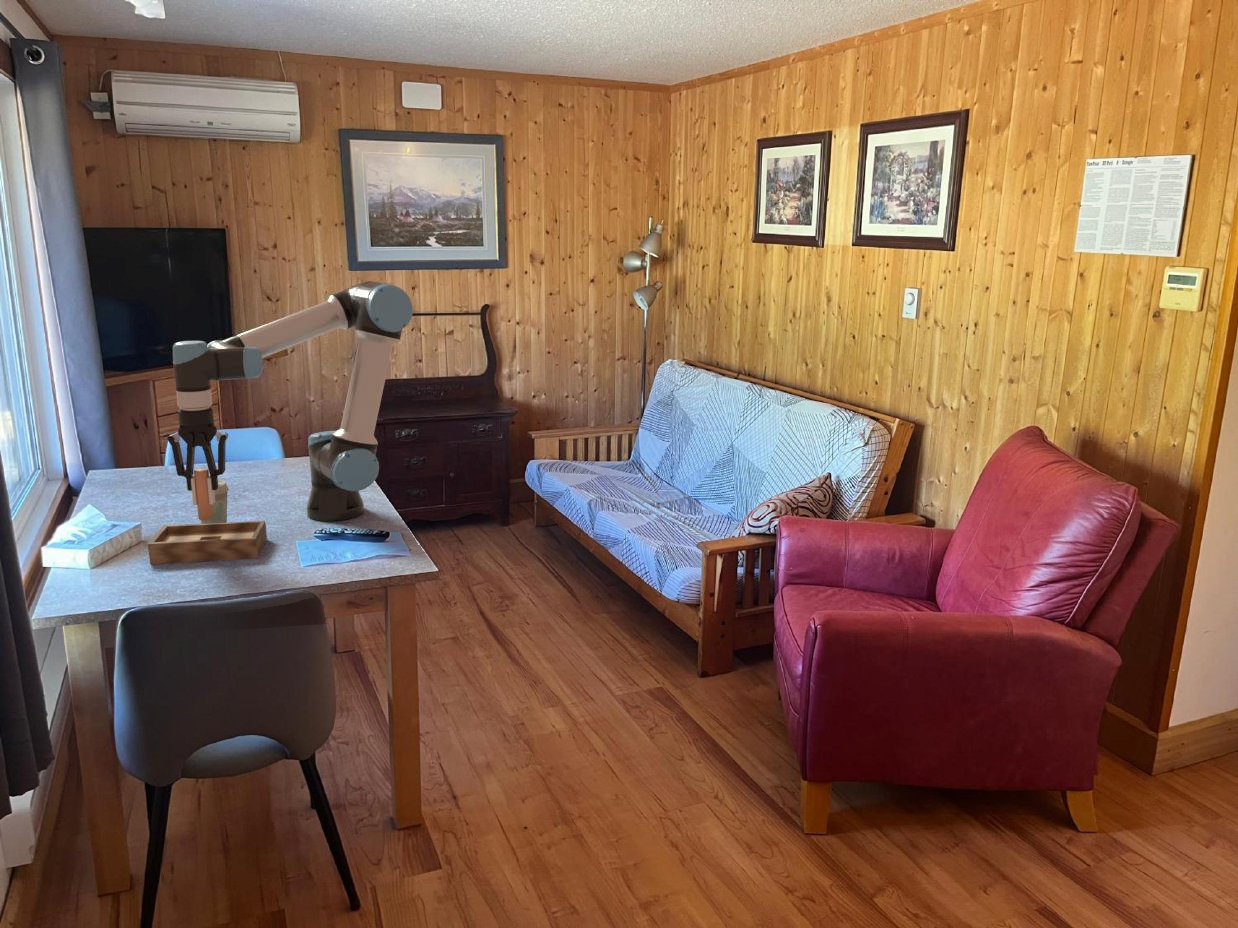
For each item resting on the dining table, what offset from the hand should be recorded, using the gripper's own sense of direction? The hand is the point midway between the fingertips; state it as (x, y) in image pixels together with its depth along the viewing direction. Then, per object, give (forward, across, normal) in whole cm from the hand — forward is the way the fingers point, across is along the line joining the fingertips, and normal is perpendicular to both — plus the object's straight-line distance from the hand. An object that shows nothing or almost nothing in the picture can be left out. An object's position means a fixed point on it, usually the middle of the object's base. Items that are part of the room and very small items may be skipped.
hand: (204, 502), depth 230 cm
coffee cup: (+13, +3, -19) cm, 23 cm away
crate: (+12, 0, 0) cm, 12 cm away
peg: (+4, 0, 0) cm, 4 cm away
